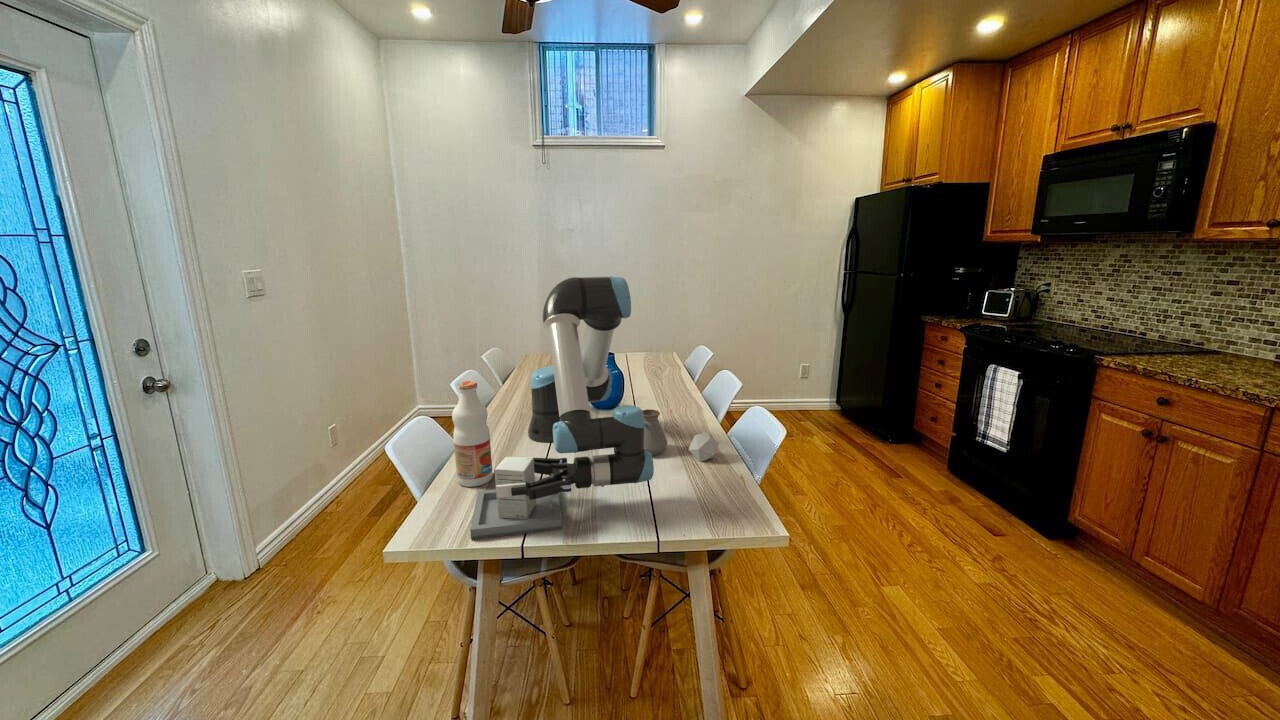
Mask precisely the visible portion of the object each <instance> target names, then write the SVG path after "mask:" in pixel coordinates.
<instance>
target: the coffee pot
mask: <svg viewBox="0 0 1280 720" xmlns="http://www.w3.org/2000/svg"><path fill="white" fill-rule="evenodd" d="M641 410H642V409H641ZM642 411H643V416H644V426H645V427H644V451H649V452H650V453H651V455H652V457H653V456H658V455H660V454H662V452H664V451H665V449H666V448H667V446H668V439H667V437H666V435H665V432H664V431H663V428H662V426H661V423H660V421H659V416H660V415H661V413H660V411H659V410H656V409H650V408H649V409H643V410H642Z"/></svg>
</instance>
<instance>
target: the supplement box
mask: <svg viewBox="0 0 1280 720" xmlns="http://www.w3.org/2000/svg"><path fill="white" fill-rule="evenodd" d="M534 458H535V457H524V456H523V457H521V456H520V457H519V456H505V457H504V458H503V459H502V461H501V462H499V464H497V466H496V467H495V469H494V479H495V481H494V482H495V486H496V485H505V484H515V483H525V484H526V482H528V483H533V482H535V481H536V476H535V474H536V473H534ZM534 495H536V494H534ZM536 504H537V503H536V499H534V500H530V499H529V496H526V495H519V496H509V497H499V498H497V506H498V517H499V518H513V519H528V517H529V516H530V514H531V512H532V510H533V509H534V507H535V505H536Z"/></svg>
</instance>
